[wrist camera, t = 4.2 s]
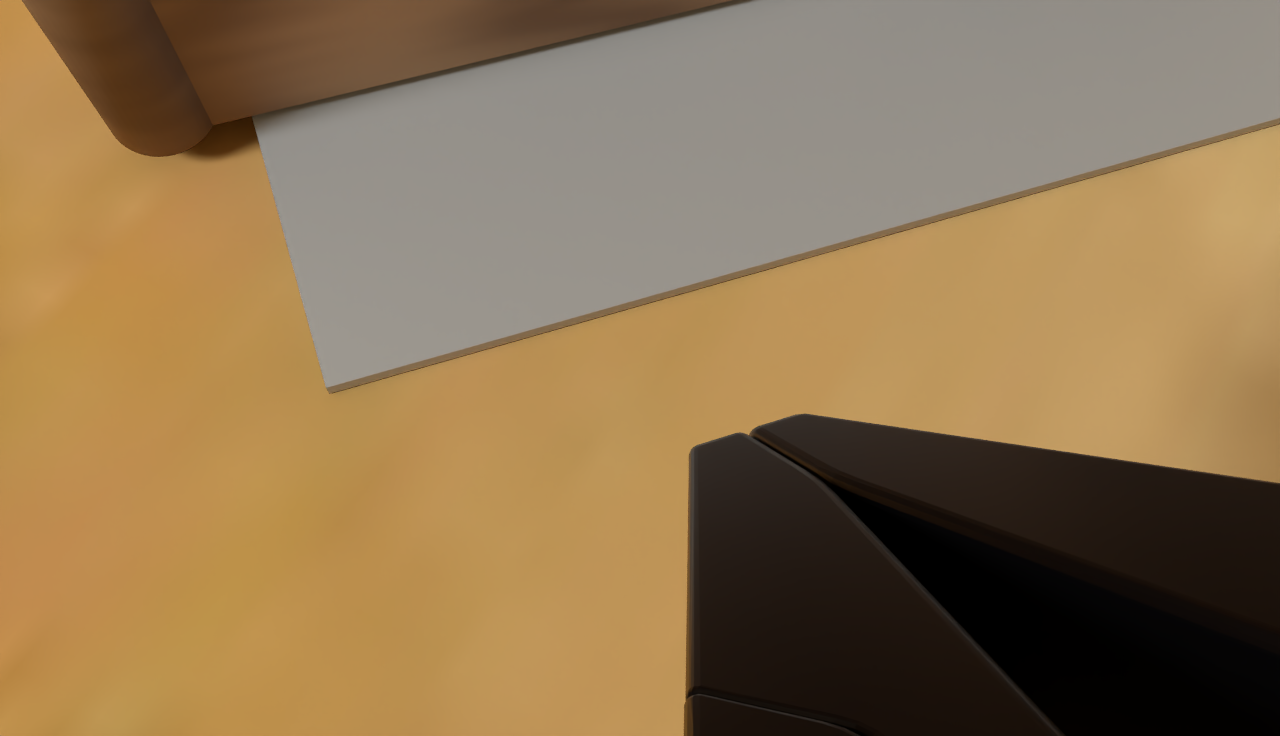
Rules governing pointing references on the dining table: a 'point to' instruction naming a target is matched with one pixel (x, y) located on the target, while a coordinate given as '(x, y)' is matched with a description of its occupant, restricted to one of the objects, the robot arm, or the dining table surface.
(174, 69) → the fence panel
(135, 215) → the dining table surface
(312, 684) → the dining table surface
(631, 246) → the card
